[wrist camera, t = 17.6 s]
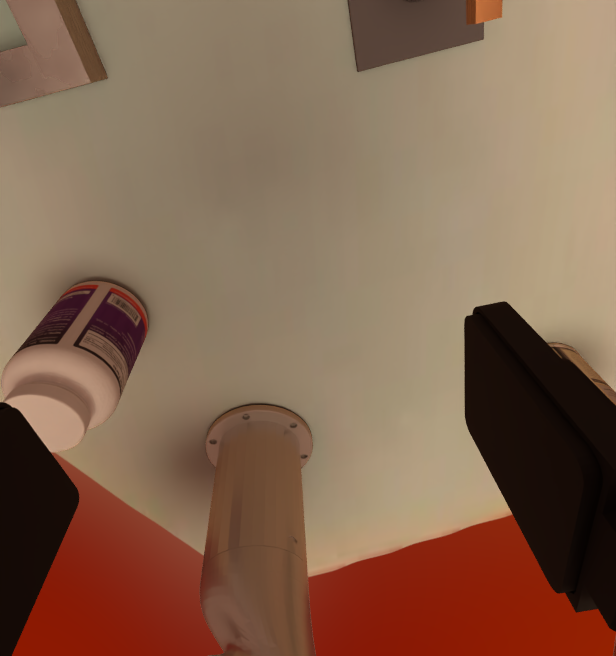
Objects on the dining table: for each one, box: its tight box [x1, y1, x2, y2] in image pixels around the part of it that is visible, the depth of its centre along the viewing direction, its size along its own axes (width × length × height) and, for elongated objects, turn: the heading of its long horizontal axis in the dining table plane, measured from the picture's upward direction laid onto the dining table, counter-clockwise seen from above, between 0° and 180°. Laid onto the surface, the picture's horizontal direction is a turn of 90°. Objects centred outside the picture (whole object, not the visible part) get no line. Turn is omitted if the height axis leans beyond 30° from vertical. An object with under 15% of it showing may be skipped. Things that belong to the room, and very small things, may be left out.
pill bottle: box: [1, 281, 148, 452], centre depth 36 cm, size 8×8×14 cm
